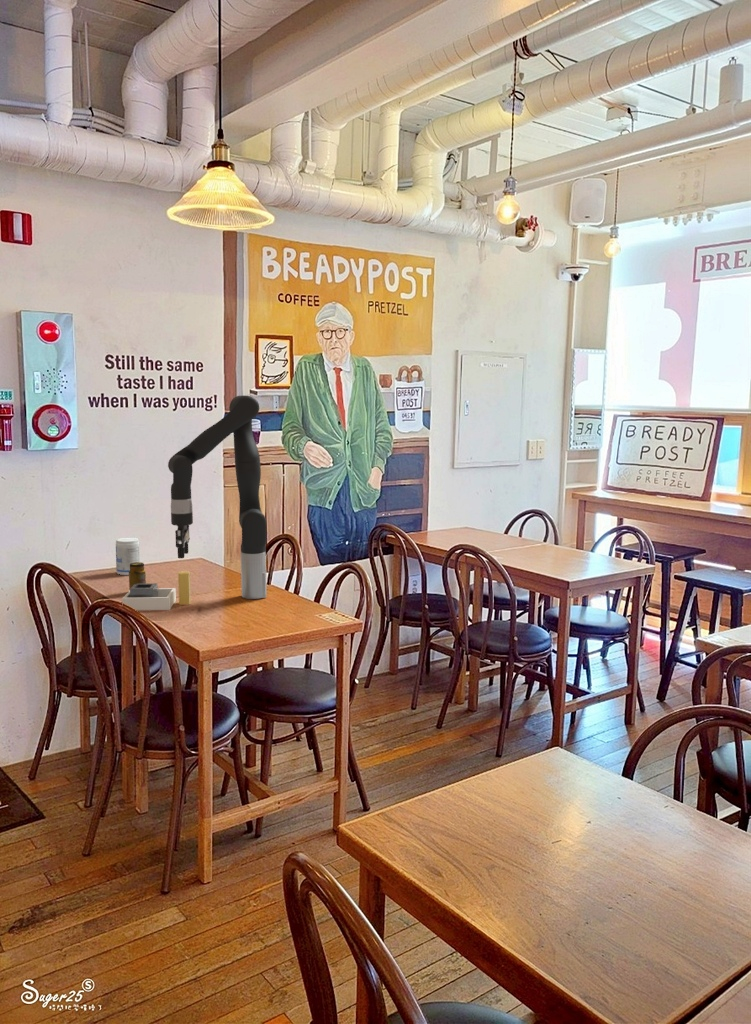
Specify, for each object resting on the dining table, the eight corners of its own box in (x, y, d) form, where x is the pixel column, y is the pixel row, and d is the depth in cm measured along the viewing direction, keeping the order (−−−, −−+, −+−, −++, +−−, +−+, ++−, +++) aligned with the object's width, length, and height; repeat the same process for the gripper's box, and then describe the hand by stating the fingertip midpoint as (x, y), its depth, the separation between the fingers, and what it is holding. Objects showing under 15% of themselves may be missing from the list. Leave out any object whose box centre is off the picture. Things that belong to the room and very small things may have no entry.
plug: (190, 603, 296) (189, 571, 294) (189, 606, 293) (188, 573, 291) (180, 603, 296) (179, 571, 294) (179, 606, 292) (178, 573, 291)
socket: (158, 602, 296) (157, 583, 294) (153, 607, 288) (152, 588, 287) (135, 602, 295) (134, 583, 294) (130, 608, 287) (129, 588, 286)
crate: (176, 601, 299) (175, 588, 298) (169, 611, 285) (168, 597, 284) (131, 601, 298) (131, 588, 297) (123, 612, 284) (122, 598, 283)
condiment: (142, 591, 314) (141, 560, 312) (152, 595, 308) (151, 564, 306) (124, 594, 310) (123, 563, 308) (133, 598, 303) (132, 567, 301)
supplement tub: (112, 573, 344) (110, 539, 342) (131, 569, 351) (130, 536, 349) (125, 576, 338) (124, 542, 336) (144, 573, 345) (143, 539, 343)
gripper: (189, 514, 283) (190, 559, 285) (195, 508, 297) (196, 551, 299) (167, 514, 282) (168, 560, 285) (174, 508, 296) (176, 552, 299)
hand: (183, 555), depth 292 cm, fingers open, 8 cm apart
